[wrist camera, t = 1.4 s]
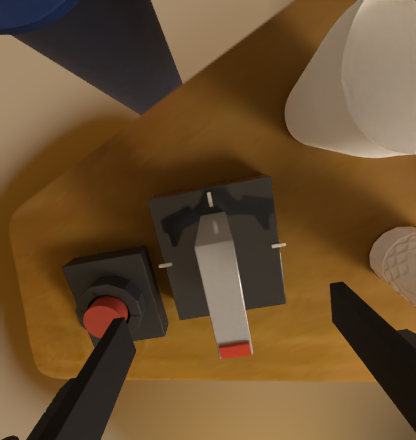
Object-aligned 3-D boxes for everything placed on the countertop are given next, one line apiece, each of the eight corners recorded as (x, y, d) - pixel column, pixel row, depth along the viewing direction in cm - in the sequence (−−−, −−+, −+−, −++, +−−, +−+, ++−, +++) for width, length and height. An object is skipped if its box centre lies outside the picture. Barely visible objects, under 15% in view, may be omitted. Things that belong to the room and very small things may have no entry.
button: (86, 298, 24) (77, 309, 22) (122, 292, 24) (115, 302, 22) (98, 329, 25) (90, 341, 23) (132, 323, 25) (127, 336, 23)
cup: (320, 34, 20) (465, -132, 9) (384, 103, 22) (583, 40, 10) (252, 117, 22) (297, 72, 11) (315, 176, 24) (415, 193, 12)
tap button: (73, 258, 27) (50, 275, 23) (145, 245, 26) (134, 260, 22) (102, 333, 29) (86, 360, 26) (168, 323, 29) (161, 348, 25)
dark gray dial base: (149, 196, 24) (140, 201, 21) (269, 172, 24) (277, 174, 20) (178, 304, 28) (174, 322, 25) (283, 287, 27) (292, 303, 24)
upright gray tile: (200, 215, 22) (193, 248, 14) (225, 211, 22) (233, 241, 14) (217, 295, 24) (219, 361, 16) (240, 291, 24) (254, 357, 16)
